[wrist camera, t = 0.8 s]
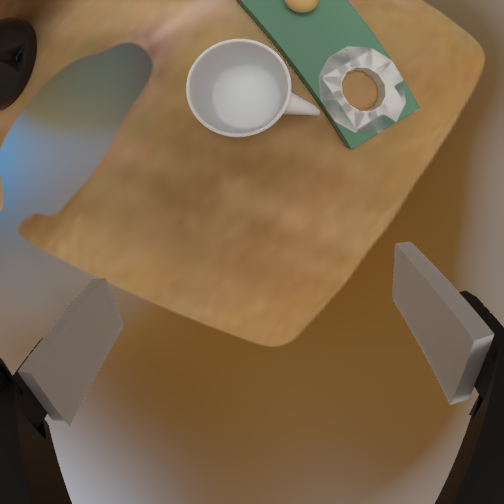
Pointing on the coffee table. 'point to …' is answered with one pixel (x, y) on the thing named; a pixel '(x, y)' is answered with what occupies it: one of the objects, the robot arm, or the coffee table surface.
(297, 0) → the ball
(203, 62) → the mug
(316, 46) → the putting strip
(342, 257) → the coffee table surface
